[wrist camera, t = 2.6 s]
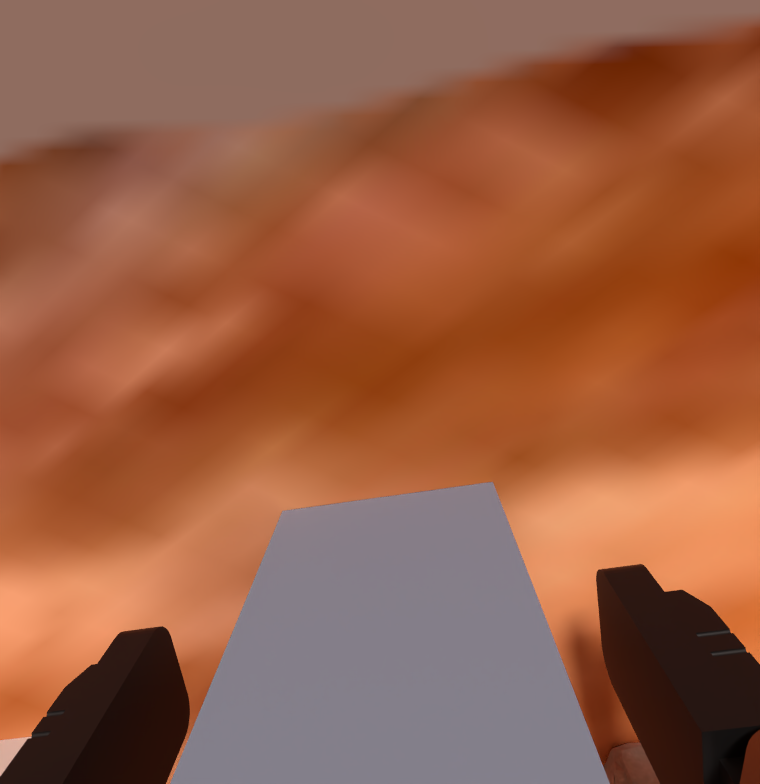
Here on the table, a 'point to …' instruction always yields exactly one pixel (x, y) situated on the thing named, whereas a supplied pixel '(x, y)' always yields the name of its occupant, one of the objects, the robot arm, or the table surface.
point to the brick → (629, 766)
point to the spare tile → (392, 656)
